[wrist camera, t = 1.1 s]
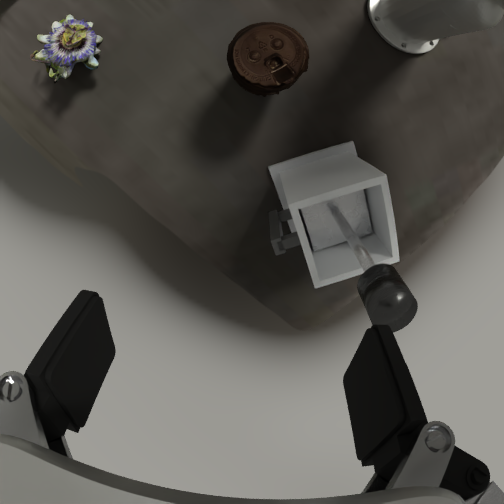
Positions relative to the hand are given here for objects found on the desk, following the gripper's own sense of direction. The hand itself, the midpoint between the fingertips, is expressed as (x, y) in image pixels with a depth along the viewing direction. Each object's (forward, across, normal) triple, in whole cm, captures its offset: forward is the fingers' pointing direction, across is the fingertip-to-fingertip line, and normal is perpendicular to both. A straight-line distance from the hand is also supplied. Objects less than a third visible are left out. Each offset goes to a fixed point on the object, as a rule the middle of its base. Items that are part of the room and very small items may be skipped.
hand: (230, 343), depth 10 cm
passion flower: (+36, +30, -16) cm, 49 cm away
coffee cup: (+36, 0, -12) cm, 38 cm away
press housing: (+36, -11, +5) cm, 37 cm away
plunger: (+28, -11, +4) cm, 30 cm away
